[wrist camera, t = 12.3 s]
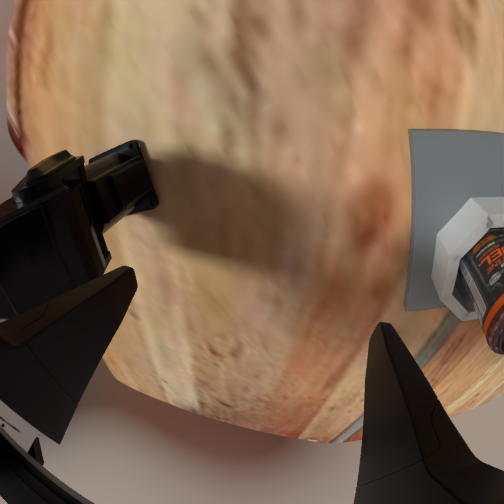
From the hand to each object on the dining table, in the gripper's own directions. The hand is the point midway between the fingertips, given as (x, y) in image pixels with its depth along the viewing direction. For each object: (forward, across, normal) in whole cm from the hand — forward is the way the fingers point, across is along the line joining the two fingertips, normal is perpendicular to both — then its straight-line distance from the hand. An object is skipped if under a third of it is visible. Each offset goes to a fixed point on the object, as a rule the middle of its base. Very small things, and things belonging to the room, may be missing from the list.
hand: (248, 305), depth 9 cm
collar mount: (+13, -19, -1) cm, 23 cm away
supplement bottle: (+12, -17, +2) cm, 21 cm away
